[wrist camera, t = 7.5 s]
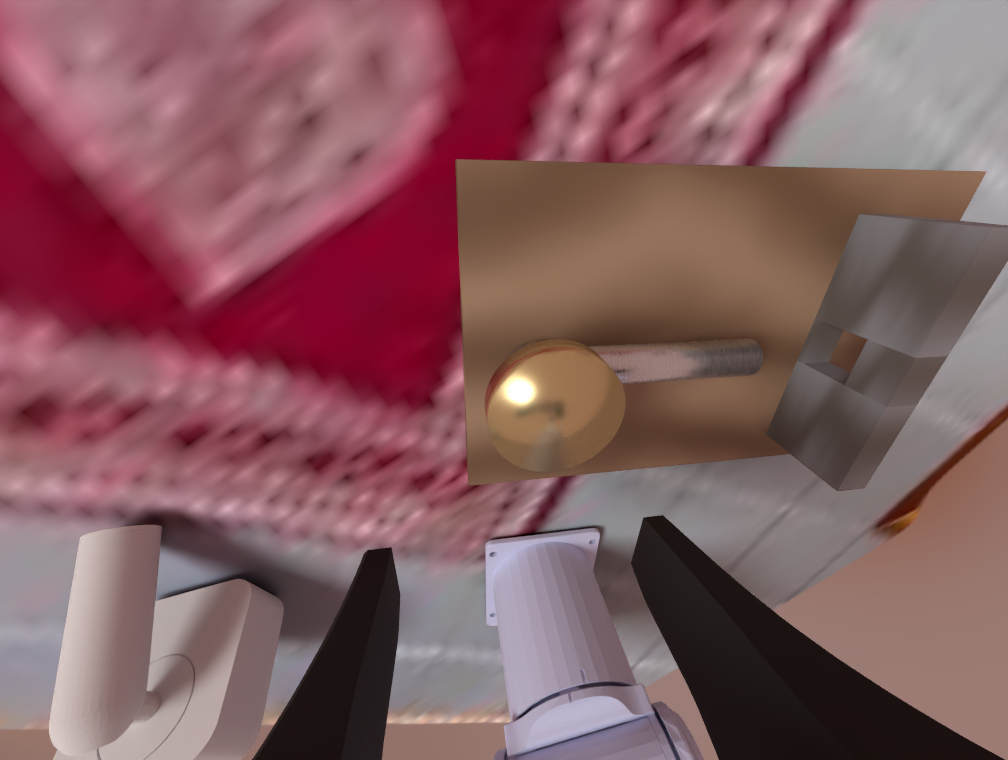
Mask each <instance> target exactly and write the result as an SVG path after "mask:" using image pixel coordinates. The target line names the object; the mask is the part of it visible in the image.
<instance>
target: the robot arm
mask: <svg viewBox="0 0 1008 760" xmlns="http://www.w3.org/2000/svg"><path fill="white" fill-rule="evenodd" d="M599 539H600V533H599V530H598V529H596V528H588V529H580V530H572V531H563V532H555V533H547V534H538V535H530V536H522V537H513V538H505V539H496V540H491V541H489V542H487V543H486V546H485V550H486V621H487V625H489V626H496V625H498V631H499V638H500V646H501V653H502V661H503V668H504V676H505V683H506V690H507V698H508V705H509V713H510V720H511V723H508V724H505V725H504V732H505V740H506V748H504V749H501V750H499V751H497V752H496V754H495V756H494V759H493V760H704V758H703V756H702V754H701V752H700V750H699V748H698V746H697V744H696V742H695V740H694V738H693V736H692V734H691V733H690V731H689V729H688V727H687V726H686V724H685V722H684V721H683V720H682V718H681V717H680V716H679V715H678V714H677V713H676V712H674V711H673V710H671V709H670V708H668V706H667V705H666V704H665V703H663V702H656V703H653V704H652V705H651V702H650V700H649V697H648V695H647V693H646V690H645V688H644V685H643V684H637V683H636V680H635V678H634V675H633V673H632V670H631V668H630V665H629V663H628V660H627V657H626V655H625V652H624V650H623V647H622V645H621V642H620V640H619V637H618V634H617V632H616V629H615V627H614V624H613V622H612V619H611V616H610V614H609V611H608V609H607V606H606V604H605V601H604V599H603V596H602V593H601V591H600V588H599V586H598V583H597V581H596V578H595V576H594V573H593V569H594V564H595V559H596V554H597V549H598V544H599ZM631 564H632V567H633V569H634V572H635V575H636V578H637V581H638V583H639V586H640V589H641V591H642V594H643V596H644V599H645V601H646V603H647V605H648V607H649V609H650V611H651V613H652V615H653V617H654V619H655V621H656V623H657V625H658V627H659V629H660V631H661V633H662V635H663V637H664V639H665V641H666V643H667V645H668V647H669V649H670V651H671V653H672V655H673V657H674V659H675V661H676V663H677V665H678V667H679V669H680V671H681V673H682V675H683V677H684V679H685V681H686V683H687V685H688V687H689V689H690V691H691V694H692V696H693V698H694V700H695V702H696V704H697V706H698V709H699V711H700V714H701V716H702V719H703V721H704V724H705V726H706V729H707V731H708V733H709V736H710V738H711V741H712V743H713V746H714V748H715V750H716V753H717V756H718V758H719V760H1004V759H1003V758H1001V757H999V756H997V755H995V754H994V753H992V752H990V751H988V750H986V749H984V748H982V747H981V746H979V745H977V744H975V743H973V742H972V741H970V740H968V739H966V738H964V737H963V736H961V735H959V734H957V733H956V732H954V731H952V730H951V729H949V728H947V727H946V726H944V725H942V724H940V723H939V722H937V721H935V720H934V719H932V718H930V717H929V716H927V715H925V714H924V713H922V712H920V711H918V710H917V709H915V708H914V707H912V706H910V705H909V704H907V703H906V702H904V701H902V700H901V699H899V698H897V697H896V696H894V695H892V694H891V693H889V692H888V691H886V690H885V689H883V688H881V687H880V686H879V685H877V684H875V683H874V682H872V681H871V680H869V679H868V678H866V677H864V676H863V675H861V674H860V673H859V672H857V671H856V670H854V669H852V668H851V667H849V666H848V665H846V664H845V663H844V662H842V661H840V660H839V659H837V658H836V657H835V656H833V655H832V654H830V653H829V652H827V651H826V650H825V649H823V648H822V647H821V646H819V645H818V644H816V643H815V642H814V641H812V640H811V639H810V638H808V637H807V636H805V635H804V634H803V633H801V632H800V631H799V630H797V629H796V628H794V627H793V626H792V625H790V624H789V623H788V622H786V621H785V620H784V619H783V618H781V617H780V616H779V615H777V614H776V613H775V612H774V611H772V610H771V609H770V608H769V607H767V606H766V605H765V604H764V603H762V602H761V601H760V600H759V599H757V598H756V597H755V596H754V595H752V594H751V593H750V592H749V591H748V590H746V589H745V588H744V587H743V586H742V585H740V584H739V583H738V582H737V581H736V580H735V579H733V578H732V577H731V576H730V575H729V574H728V573H726V572H725V571H724V570H723V569H722V568H721V567H720V566H718V565H717V564H716V563H715V562H714V561H713V560H712V559H711V558H709V557H708V556H707V555H706V554H705V553H704V552H703V551H702V550H701V549H699V548H698V547H697V546H696V545H695V544H694V543H693V542H692V541H691V540H689V539H688V538H687V537H686V536H685V535H684V534H683V533H682V532H681V531H680V530H679V529H677V528H676V527H675V526H674V525H673V524H672V523H671V522H670V521H669V520H667V519H666V518H665V517H664V516H663V515H661V516H653V517H645V518H643V521H642V525H641V529H640V532H639V536H638V540H637V544H636V547H635V551H634V555H633V558H632V562H631ZM399 610H400V591H399V585H398V580H397V575H396V569H395V564H394V559H393V553H392V548H382V549H374V550H368V551H366V552H365V553H364V555H363V558H362V560H361V563H360V565H359V568H358V570H357V573H356V575H355V577H354V580H353V582H352V584H351V586H350V588H349V591H348V593H347V595H346V597H345V599H344V601H343V603H342V605H341V608H340V610H339V612H338V614H337V615H336V617H335V619H334V621H333V623H332V625H331V627H330V629H329V631H328V633H327V635H326V637H325V639H324V641H323V643H322V645H321V646H320V648H319V650H318V652H317V654H316V655H315V657H314V659H313V661H312V663H311V664H310V666H309V668H308V670H307V671H306V673H305V675H304V677H303V678H302V680H301V682H300V684H299V686H298V687H297V689H296V691H295V692H294V694H293V696H292V697H291V699H290V701H289V702H288V704H287V706H286V707H285V709H284V711H283V712H282V714H281V716H280V717H279V719H278V720H277V722H276V724H275V725H274V727H273V728H272V730H271V731H270V733H269V735H268V736H267V738H266V739H265V741H264V742H263V744H262V746H261V747H260V749H259V750H258V752H257V753H256V755H255V756H254V758H253V759H252V760H382V751H383V742H384V736H385V728H386V721H387V714H388V707H389V700H390V693H391V686H392V679H393V671H394V664H395V657H396V650H397V642H398V631H399Z"/></svg>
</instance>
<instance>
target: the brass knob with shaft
mask: <svg viewBox="0 0 1008 760" xmlns="http://www.w3.org/2000/svg"><path fill="white" fill-rule="evenodd" d="M762 363H763V352H762V349H761V347H760V345H759V344H758V343H757V342H756V341H755V340H753V339H728V340H708V341H687V342H667V343H647V344H626V345H606V346H586V345H583V344H581V343H578V342H575V341H571V340H564V339H553V340H545V341H540V342H534V341H531V342H526V343H523V344H521V345H519V346H518V347H517V348H516V349H515V350H514V351H513V352H512V354H511V356H510V357H508V358H507V359H506V360H505V361H504V362H503V363H502V364H501V365H500V366H499V367H498V369H497V370H496V371H495V373H494V374H493V376H492V378H491V380H490V381H489V384H488V387H487V389H486V394H485V402H484V407H485V415H486V420H487V425H488V430H489V434H490V438H491V440H492V442H493V445H494V446H495V448H496V449H497V451H498V452H499V453H500V454H501V455H502V456H503V457H504V458H505V459H506V460H507V461H509V462H511V463H512V464H514V465H516V466H518V467H520V468H523V469H527V470H531V471H538V472H553V471H560V470H564V469H568V468H571V467H574V466H577V465H579V464H581V463H583V462H585V461H587V460H589V459H590V458H592V457H594V456H595V455H596V454H598V453H599V452H600V451H601V450H602V449H604V448H605V447H606V446H607V444H608V443H609V442H610V441H611V440H612V439H613V437H614V436H615V434H616V433H617V431H618V429H619V427H620V425H621V423H622V420H623V417H624V413H625V406H626V403H625V393H624V389H623V386H622V384H634V383H649V382H665V381H680V380H696V379H711V378H727V377H742V376H752V375H754V374H756V373H757V372H758V371H759V370H760V368H761V366H762Z"/></svg>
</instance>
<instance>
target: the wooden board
mask: <svg viewBox="0 0 1008 760" xmlns="http://www.w3.org/2000/svg"><path fill="white" fill-rule="evenodd" d="M455 163H456V189H457V215H458V241H459V266H460V292H461V318H462V343H463V369H464V395H465V421H466V446H467V471H468V481H469V485H479V484H489V483H500V482H510V481H520V480H530V479H540V478H550V477H560V476H571V475H581V474H591V473H601V472H611V471H621V470H632V469H642V468H652V467H662V466H672V465H682V464H692V463H703V462H713V461H723V460H733V459H743V458H753V457H763V456H774V455H784V454H791V455H792V456H794V457H795V458H796V459H797V460H799V461H800V462H801V463H802V464H804V465H805V466H806V467H807V468H809V469H810V470H811V471H813V472H814V473H815V474H816V475H818V476H819V477H820V478H821V479H823V480H824V481H825V482H826V483H828V484H829V485H830V486H831V487H833V488H834V489H835V490H836V491H844V490H853V489H861V488H865V486H866V485H867V483H868V482H869V480H870V479H871V477H872V475H873V474H874V472H875V471H876V469H877V467H878V466H879V464H880V463H881V461H882V459H883V458H884V456H885V455H886V453H887V452H888V450H889V448H890V447H891V445H892V444H893V442H894V440H895V439H896V437H897V436H898V434H899V432H900V431H901V429H902V428H903V426H904V425H905V423H906V421H907V420H908V418H909V417H910V415H911V413H912V412H913V410H914V409H915V407H916V406H917V404H918V402H919V401H920V399H921V398H922V396H923V394H924V393H925V391H926V390H927V388H928V386H929V385H930V383H931V382H932V380H933V379H934V377H935V375H936V374H937V372H938V371H939V369H940V367H941V366H942V364H943V363H944V361H945V359H946V358H947V356H948V355H949V353H950V352H951V350H952V348H953V347H954V345H955V344H956V342H957V340H958V339H959V337H960V336H961V334H962V332H963V331H964V329H965V328H966V326H967V325H968V323H969V321H970V320H971V318H972V317H973V315H974V313H975V312H976V310H977V309H978V307H979V305H980V304H981V302H982V301H983V299H984V298H985V296H986V294H987V293H988V291H989V290H990V288H991V286H992V285H993V283H994V282H995V280H996V279H997V277H998V275H999V274H1000V272H1001V271H1002V269H1003V267H1004V266H1005V264H1006V263H1007V261H1008V225H997V224H986V223H976V222H965V221H960V219H961V217H962V216H963V214H964V212H965V210H966V208H967V206H968V204H969V203H970V201H971V199H972V197H973V195H974V193H975V192H976V190H977V188H978V186H979V184H980V182H981V181H982V179H983V177H984V175H985V173H986V172H982V171H938V170H894V169H851V168H807V167H764V166H720V165H676V164H633V163H589V162H546V161H502V160H458V159H457V160H455ZM553 339H564V340H571V341H575V342H578V343H581V344H583V345H586V346H606V345H626V344H647V343H667V342H687V341H708V340H728V339H753V340H755V341H756V342H757V343H758V344H759V345H760V347H761V349H762V352H763V363H762V366H761V368H760V370H759V371H758V372H757V373H756V374H754V375H752V376H742V377H727V378H711V379H696V380H680V381H665V382H649V383H634V384H622V386H623V389H624V393H625V403H626V406H625V413H624V417H623V420H622V423H621V425H620V427H619V429H618V431H617V433H616V434H615V436H614V437H613V439H612V440H611V441H610V442H609V443H608V444H607V446H606V447H605V448H604V449H602V450H601V451H600V452H599V453H598V454H596V455H595V456H594V457H592V458H590V459H589V460H587V461H585V462H583V463H581V464H579V465H577V466H574V467H571V468H568V469H564V470H560V471H553V472H538V471H531V470H527V469H523V468H520V467H518V466H516V465H514V464H512V463H511V462H509V461H507V460H506V459H505V458H504V457H503V456H502V455H501V454H500V453H499V452H498V451H497V449H496V448H495V446H494V445H493V442H492V440H491V438H490V434H489V430H488V425H487V420H486V415H485V407H484V402H485V394H486V389H487V387H488V384H489V381H490V380H491V378H492V376H493V374H494V373H495V371H496V370H497V369H498V367H499V366H500V365H501V364H502V363H503V362H504V361H505V360H506V359H507V358H508V357H510V356H511V354H512V352H513V351H514V350H515V349H516V348H517V347H518V346H519V345H521V344H523V343H526V342H531V341H534V342H540V341H545V340H553Z"/></svg>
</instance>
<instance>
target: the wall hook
mask: <svg viewBox="0 0 1008 760" xmlns="http://www.w3.org/2000/svg"><path fill="white" fill-rule="evenodd" d="M161 533H162V527H161V526H158V525H136V526H125V527H118V528H111V529H106V530H101V531H96V532H92V533H89V534H86V535H83V536H81V537H80V541H79V547H78V553H77V559H76V565H75V571H74V577H73V583H72V589H71V595H70V601H69V607H68V613H67V619H66V625H65V630H64V636H63V642H62V648H61V654H60V660H59V666H58V672H57V678H56V684H55V690H54V696H53V703H52V709H51V716H50V723H49V734H50V738H51V741H52V743H53V745H54V746H55V747H56V748H57V749H58V750H57V752H56V755H55V757H54V759H53V760H241V759H242V758H243V757H244V756H245V755H246V754H247V753H248V751H249V750H250V749H251V747H252V746H253V744H254V742H255V740H256V738H257V736H258V734H259V731H260V728H261V723H262V719H263V714H264V709H265V704H266V699H267V694H268V689H269V684H270V679H271V675H272V670H273V665H274V660H275V655H276V650H277V645H278V640H279V635H280V630H281V625H282V620H283V614H284V607H283V603H282V602H281V600H280V599H279V598H277V597H276V596H274V595H272V594H270V593H268V592H266V591H264V590H263V589H261V588H259V587H257V586H255V585H253V584H251V583H249V582H248V581H246V580H243V579H235V580H231V581H227V582H223V583H219V584H216V585H212V586H208V587H205V588H201V589H197V590H194V591H190V592H187V593H183V594H179V595H176V596H172V597H168V598H165V599H161V600H158V601H155V599H156V588H157V577H158V566H159V555H160V544H161Z"/></svg>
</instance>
